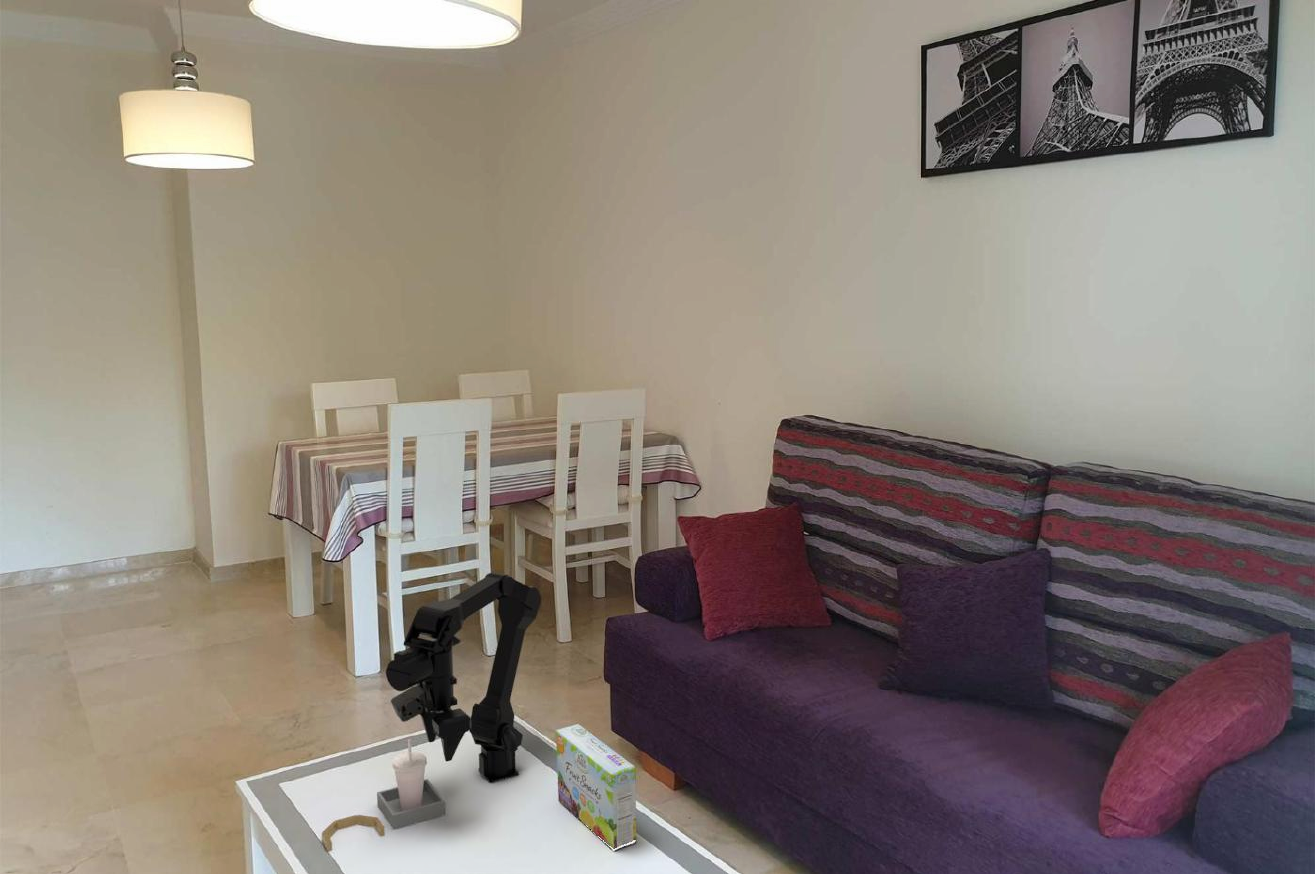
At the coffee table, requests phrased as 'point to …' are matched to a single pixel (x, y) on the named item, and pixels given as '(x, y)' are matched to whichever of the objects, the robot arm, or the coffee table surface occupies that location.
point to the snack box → (596, 785)
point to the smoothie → (410, 777)
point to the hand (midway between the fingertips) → (439, 750)
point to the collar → (347, 823)
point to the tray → (398, 818)
